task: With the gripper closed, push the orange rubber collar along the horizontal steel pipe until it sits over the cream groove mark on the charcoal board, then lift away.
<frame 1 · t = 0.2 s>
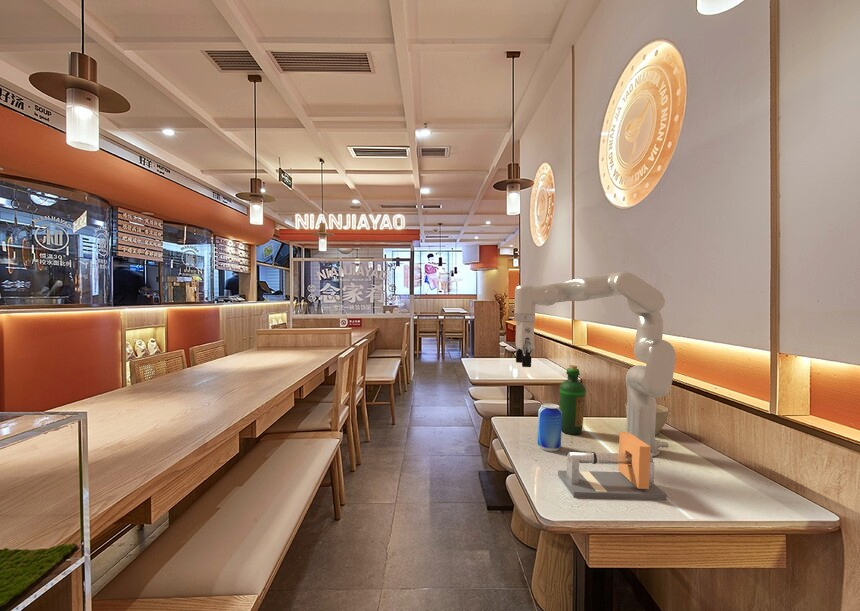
hand: (523, 364, 147), 31 cm above the table, tool pointing down, fingers open, 9 cm apart
pipe: (609, 467, 118), on the base board, point 6 cm above the table
planter bowl: (645, 432, 170), on the table
collar: (633, 459, 118), point 8 cm above the table, slide at 0.0 cm
beer can: (548, 448, 148), on the table
base board: (609, 486, 118), on the table
bottle: (571, 432, 167), on the table
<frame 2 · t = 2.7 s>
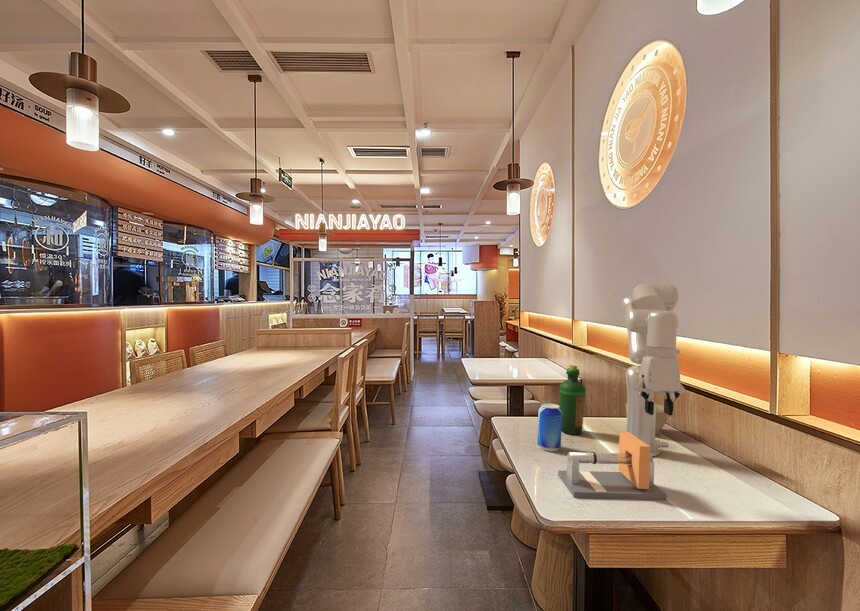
hand: (658, 413, 118), 22 cm above the table, tool pointing down, fingers open, 4 cm apart
nothing on the table moved.
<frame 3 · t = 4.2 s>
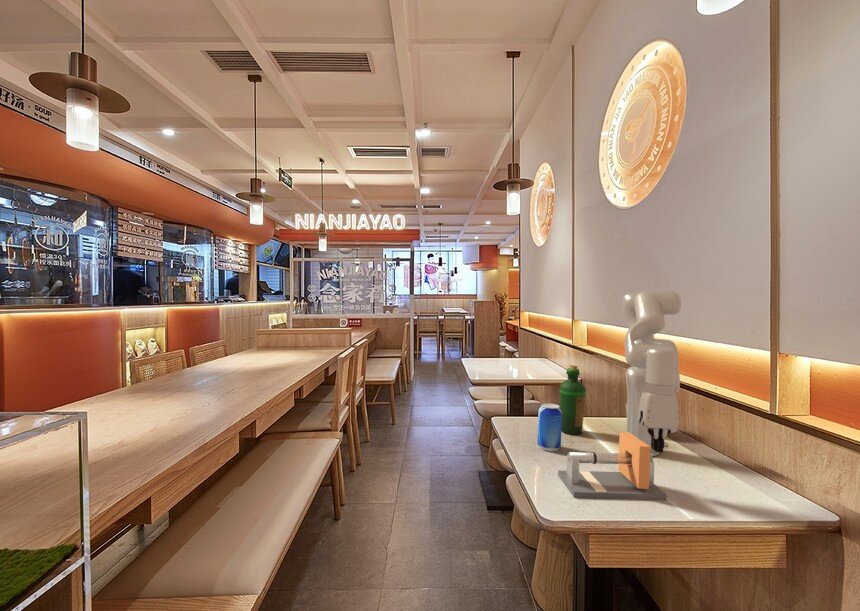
hand: (657, 450, 118), 11 cm above the table, tool pointing down, fingers closed
nothing on the table moved.
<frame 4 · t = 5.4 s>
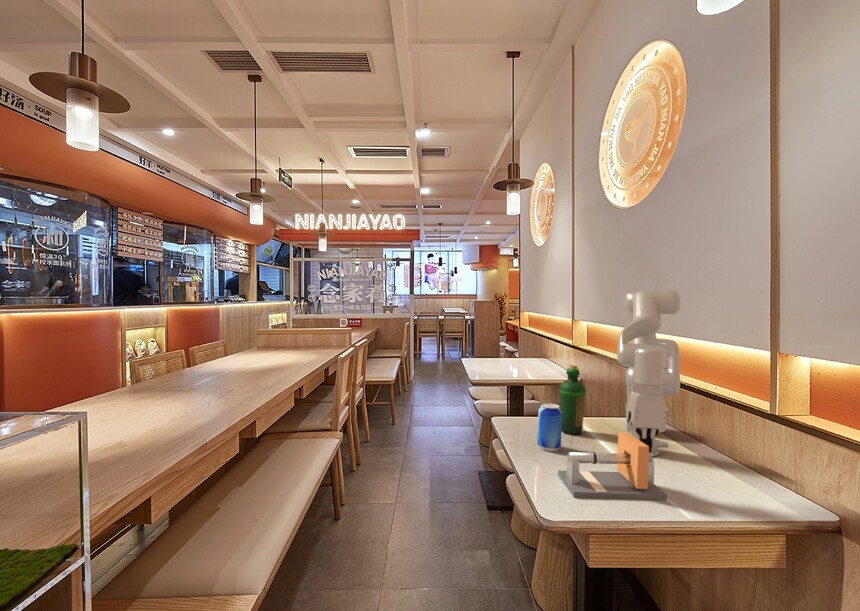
hand: (645, 450, 118), 11 cm above the table, tool pointing down, fingers closed
collar: (632, 459, 118), point 8 cm above the table, slide at 0.4 cm, touching gripper
everything else where it was.
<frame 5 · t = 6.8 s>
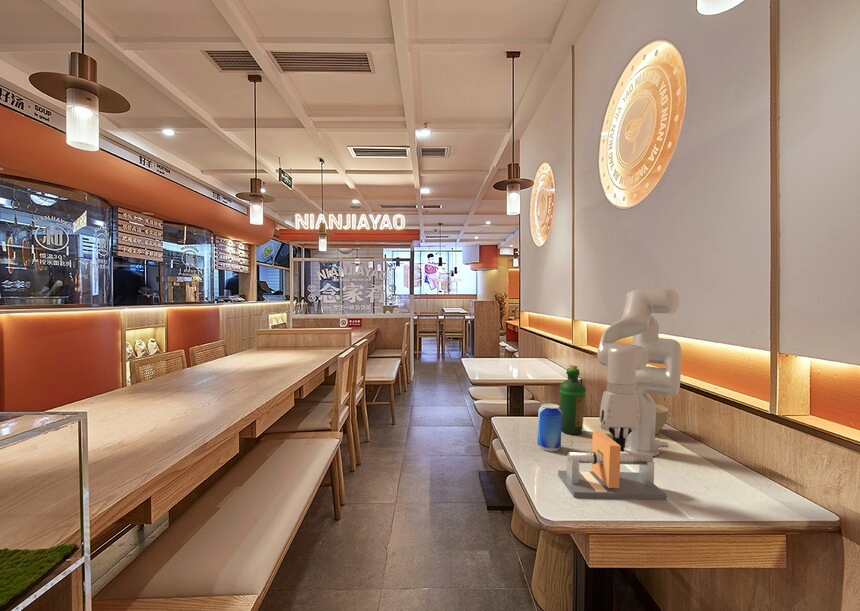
hand: (618, 449, 118), 11 cm above the table, tool pointing down, fingers closed
collar: (605, 458, 118), point 8 cm above the table, slide at 8.4 cm, touching gripper
everything else where it was.
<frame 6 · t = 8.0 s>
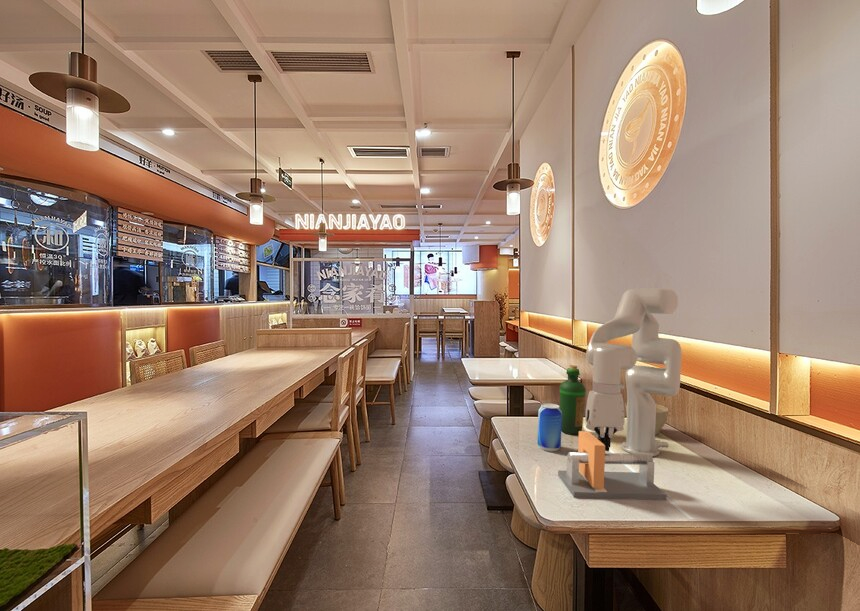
hand: (604, 449, 118), 11 cm above the table, tool pointing down, fingers closed
collar: (590, 457, 118), point 8 cm above the table, slide at 12.8 cm, touching gripper
everything else where it was.
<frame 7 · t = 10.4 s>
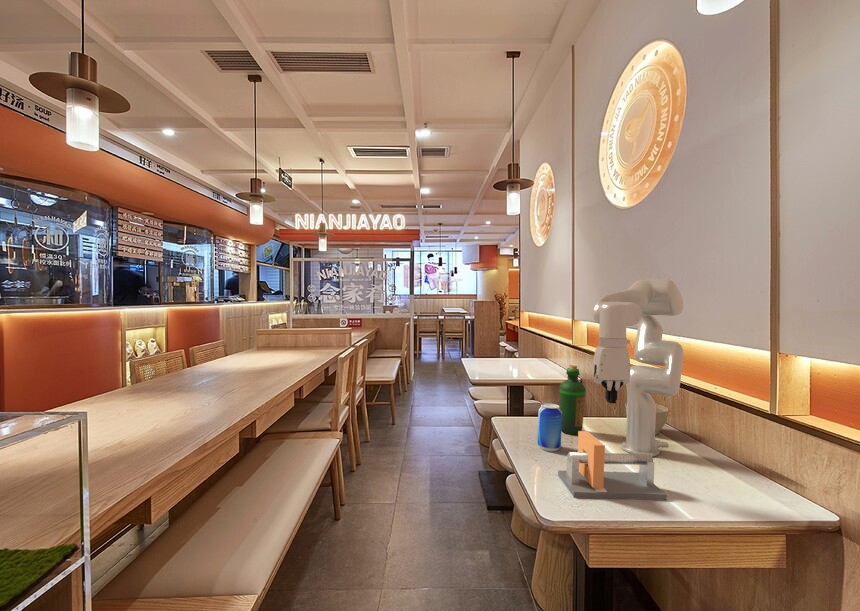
hand: (611, 402, 123), 24 cm above the table, tool pointing down, fingers closed
collar: (590, 457, 118), point 8 cm above the table, slide at 12.9 cm
everything else where it was.
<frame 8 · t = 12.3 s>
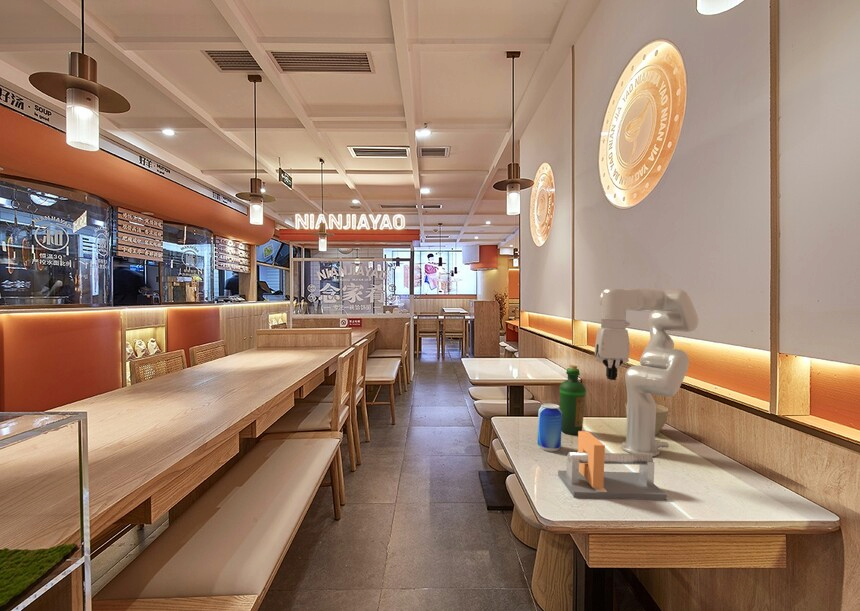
hand: (611, 379, 134), 29 cm above the table, tool pointing down, fingers closed
nothing on the table moved.
at the end: collar slide at 12.9 cm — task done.
